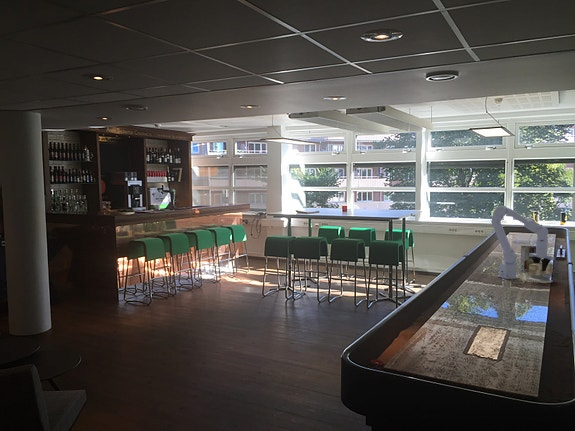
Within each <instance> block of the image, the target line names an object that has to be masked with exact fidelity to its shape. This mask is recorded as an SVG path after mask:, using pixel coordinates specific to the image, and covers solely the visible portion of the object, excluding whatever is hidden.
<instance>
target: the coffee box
mask: <svg viewBox="0 0 575 431" xmlns="http://www.w3.org/2000/svg"><path fill="white" fill-rule="evenodd" d="M529 253H534V254H536V245H521V246H520V263H519V267H520V269H522V270H524V271H523V272H529V264H534V262H533V260H532V258H533V257H529ZM522 270H521V271H522Z"/></svg>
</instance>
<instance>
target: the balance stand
mask: <svg viewBox="0 0 575 431" xmlns="http://www.w3.org/2000/svg"><path fill="white" fill-rule="evenodd" d="M527 280H528V281H532V282H537V283H542V284H547V283H553V280H552V279H551V277H550V276H546V275H530V277H528V278H527Z"/></svg>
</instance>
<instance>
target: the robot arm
mask: <svg viewBox="0 0 575 431" xmlns="http://www.w3.org/2000/svg"><path fill="white" fill-rule="evenodd" d="M504 217H510V218H511V217H512V218H514V219H515V220H517V221H519V222H520V223H522V224H524V225H523V226H524V228H526V229H528V230H529V231H531V232H533V233H535V234H536V235H537V237H536V238H537V239H536V244H535V246H536V254H534V253H529V257H533V258H532V260H533V262H534V264H535V263H542V271H546V268H547V266H548V264H549V263H551V261H555V256H552V255H548V246H549V244H548V243H549V241H548V238H549V237H548V235H549V230H548V228H547V227H546V226H543V225H542V224H540V223H539V222H537V221H536V220H535V219H534V218H533V219H532V218H529V219H528V218H526V217H524V216H523V215H521V214H520V213H518V212H517V211H516V210H514V209H512V208H510V207H507V206H506V205H498V206H496V207H495V209H494V210H493V212H492V216H491V225H492V227H493V229H494V232H495V234H496V237H497V239H498V242H499V244H500V246H501V248H502V253H503V260H504V261H503V262H502V263H500V264H499V266H498V275H497V278H498V277H499V278H502V279H505V280H510V279H511V280H513V279H516V280H517V279H520V277H518V276H517V268H518V266H517V264H518V262H516V260H517V258H518V255H517V253H516V252H515V251H514V249H513V248H512V247H511V244H510V242H509V239H508V237H507V235H506V232H505V230H504V227H503V225H502V221H503V218H504Z"/></svg>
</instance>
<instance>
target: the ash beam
mask: <svg viewBox="0 0 575 431" xmlns="http://www.w3.org/2000/svg"><path fill="white" fill-rule="evenodd" d="M553 265H554V263H553V262H549V264H548V266H547V268H546V271H542V262H540V263H535V264H529V271H528V275H530V276H531V275H541V276H543V275H549V274H550V275H551V274H553Z"/></svg>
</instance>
